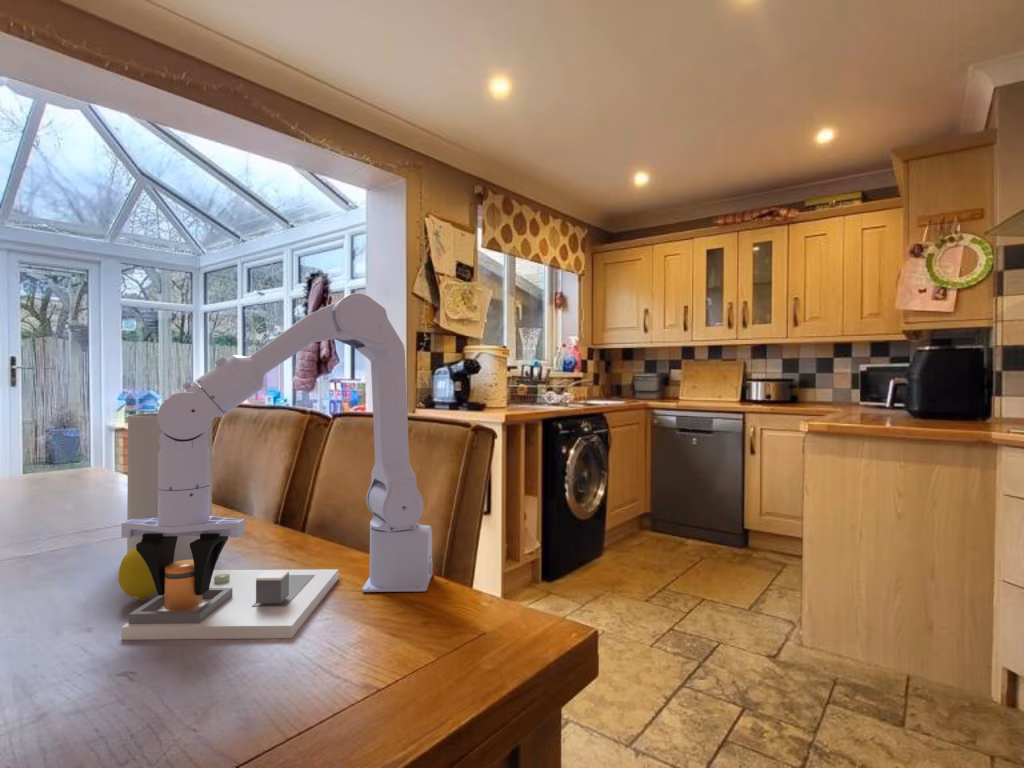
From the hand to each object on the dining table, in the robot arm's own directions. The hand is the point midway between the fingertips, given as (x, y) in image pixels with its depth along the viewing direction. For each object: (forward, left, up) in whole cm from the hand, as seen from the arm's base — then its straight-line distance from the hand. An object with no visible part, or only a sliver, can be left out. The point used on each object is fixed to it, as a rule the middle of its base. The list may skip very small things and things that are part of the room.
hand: (183, 592), depth 71 cm
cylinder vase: (+17, -26, -4) cm, 31 cm away
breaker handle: (-10, -2, -2) cm, 11 cm away
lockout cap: (0, 0, -2) cm, 2 cm away
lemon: (+10, -7, -4) cm, 12 cm away
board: (-5, -5, -4) cm, 8 cm away
